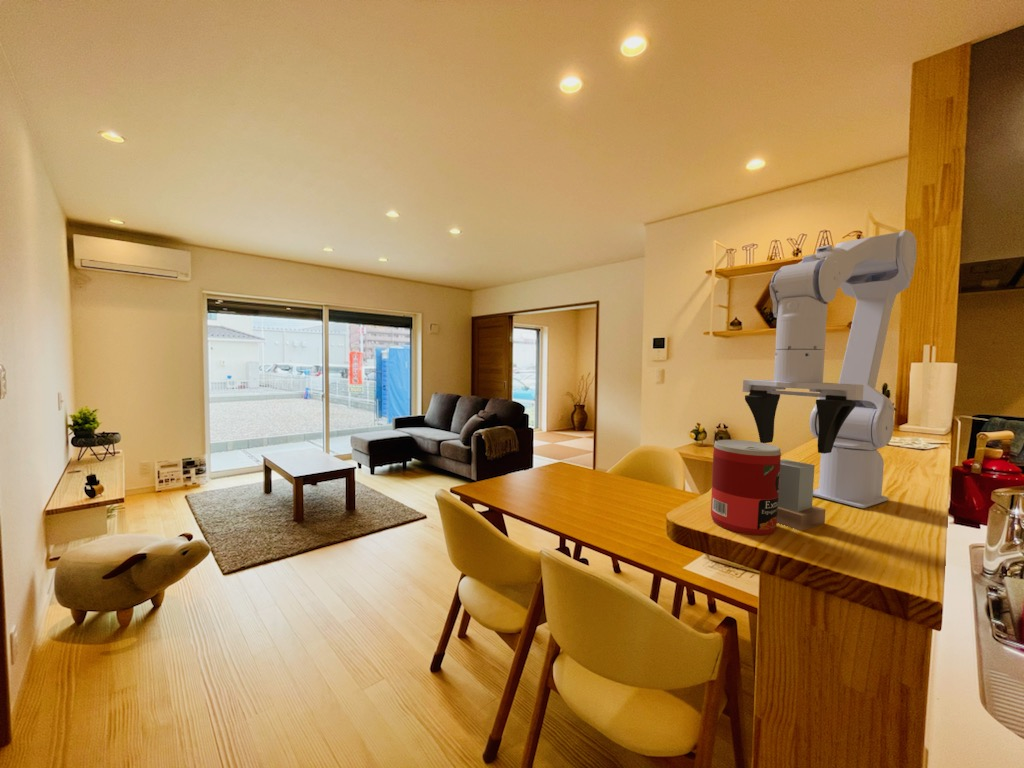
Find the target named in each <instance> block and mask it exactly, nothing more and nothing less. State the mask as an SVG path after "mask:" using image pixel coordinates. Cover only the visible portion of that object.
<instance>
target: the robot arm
mask: <svg viewBox="0 0 1024 768" xmlns="http://www.w3.org/2000/svg"><path fill="white" fill-rule="evenodd" d="M917 248H918V247H917V240H916V237H915V234H914V233H913V232H911V231H910V230H909V229H905V230H902V231H898V232H891V233H885V234H880V235H874V236H867V237H863V238H858V239H853V240H848V241H847V240H846V241H842V242H838V243H836V244H835V247H833V245H832V244H827V245H823V246H820V247H817V248H816V250H815V252H816V253H813V254H808V255H804V256H803V257H802V259H801V261H800V262H798V263H794V264H788V265H783V266H781V267H780V268H779V269H778V270H776V271H775V272H774V273H773V274H772V277H771V280H770V283H769V295H770V299H771V302H772V314H773V318H776V329H775V345H774V348H775V350H774V365H773V366H774V367H773V379H771V380H770V379H749V378H747V379H743V380H742V392H743V393H748V395H747V394H746V395H744V400H745V402H746V405H747V406H748V407H749V409H750V412H751V414H752V417H753V418H754V419H753V420H754V422H755V425H756V428H757V432H758V437H759V442H760V443H765V444H770V443H773V440H774V436H775V435H774V433H775V419H776V412H777V409H778V404H779V401H780V398H781V395H784V396H787V395H788V396H797V397H798V396H801V397H815V398H817V399H816V400H815V405H814V406H813V408H812V410H811V412H810V415H809V429H810V432H811V434H812V435H813V437H814V438H816V439H817V452H818V453H819V454H820V462H819V479H818V488H816V489H813V497H816V498H817V497H818V498H821V499H824V500H829V501H831V502H832V501H833V502H837V503H840V504H844V505H849V506H851V507H857V508H859V509H860V508H861V509H867V508H869V507H873V506H874V505H878V504H881V503H884V502H887V501H889V499H890V498H889V497H888V496H885V495H883V479H884V477H883V476H884V469H885V468H884V467H885V466H884V465H885V464H884V463H885V462H884V461H885V460H884V458H883V456H882V454H881V453H880V452H879V451H878V449H879V450H880V449H882V448H884V447H886V446H887V445H888V444H889V443H890V442H891V440H892V437H893V433H894V422H895V421H894V413H895V407H894V405H893V402H892V400H891V399H890V398H889V397H887V396H886V395H885V394H883V393H882V392H880V391H879V390H877V389H876V387H877V382H878V376H879V372H880V367H881V362H882V358H883V353H884V348H885V344H886V343H885V342H886V338H887V334H888V328H889V325H890V320H891V316H892V310H893V307H894V303H895V301H896V297H897V295H898V294H900V293H901V292H903V291H904V290H906V289H908V288H909V287H910V286H911V281H912V280H913V277H914V272H915V268H916V262H917V258H918V257H917V253H918V252H917ZM839 288H840V290H841V292H842V294H843V295H845V296H848V297H851V298H854V299H855V301H856V303H855V304H856V305H855V307H854V312H853V317H852V322H851V325H850V326H851V327H850V330H849V334H848V335H849V336H848V338H847V343H846V348H845V349H846V350H845V353H844V357H843V361H842V366H841V370H840V375H839V379H838V383H836V382H824V371H825V355H826V354H825V353H826V352H825V350H826V337H827V336H826V335H827V319H828V318H827V317H828V303H832V302H833V301H834V299H836V296H837V292H838V289H839ZM786 389H803V390H809V392H806V391H805V392H804V391H792V390H786Z"/></svg>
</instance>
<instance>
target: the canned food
mask: <svg viewBox="0 0 1024 768" xmlns="http://www.w3.org/2000/svg"><path fill="white" fill-rule="evenodd" d="M712 455H713V456H712V472H711V473H712V477H711V499H710V501H711V503H710V516H711V519H712V521H713V522H714V523H715V524H716V525H718V526H719V527H721V528H723V529H726V530H728V531H732V532H734V533H739V534H743V533H744V535H750V534H751V535H752V536H768V535H771V534H773V533H774V532H775V531H776V528H777V524H778V523H777V512H778V496H779V479H780V463H781V460H782V451H781V448H780V447H778V446H776V445H774V444H770V443H760V441H752V440H744V439H743V440H741V439H719V440H715V441H714V445H713V454H712ZM751 535H750V536H751Z"/></svg>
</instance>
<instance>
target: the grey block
mask: <svg viewBox="0 0 1024 768" xmlns="http://www.w3.org/2000/svg"><path fill="white" fill-rule="evenodd" d="M815 467H816V466H815V464H811V463H805V462H800V461H795V460H790V459H784V458H783V459H782V458H781V463H780V479H779V496H778V507H782V508H785V509H789V510H792V511H796V512H799V511H802V510H805V509H809V508H812V506H813V498H814V496H813V490H814V483H815V482H814V481H815Z"/></svg>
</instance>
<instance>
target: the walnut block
mask: <svg viewBox="0 0 1024 768" xmlns="http://www.w3.org/2000/svg"><path fill="white" fill-rule="evenodd" d="M825 522H826V508H823V507H820V506H816V505H812V508H809V509H805V510H802V511H799V512H796V511H792V510H789V509H785V508H782V507H778V512H777V524H778V523H779V524H778V525H781V524H782V526H784V525H785V526H784V527H787V526H788V527H787V528H790V529H793V528H794V529H793V530H795V531H799V532H803V531H806V530H809V529H812V528H815V527H819V526H822V525H825Z"/></svg>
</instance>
